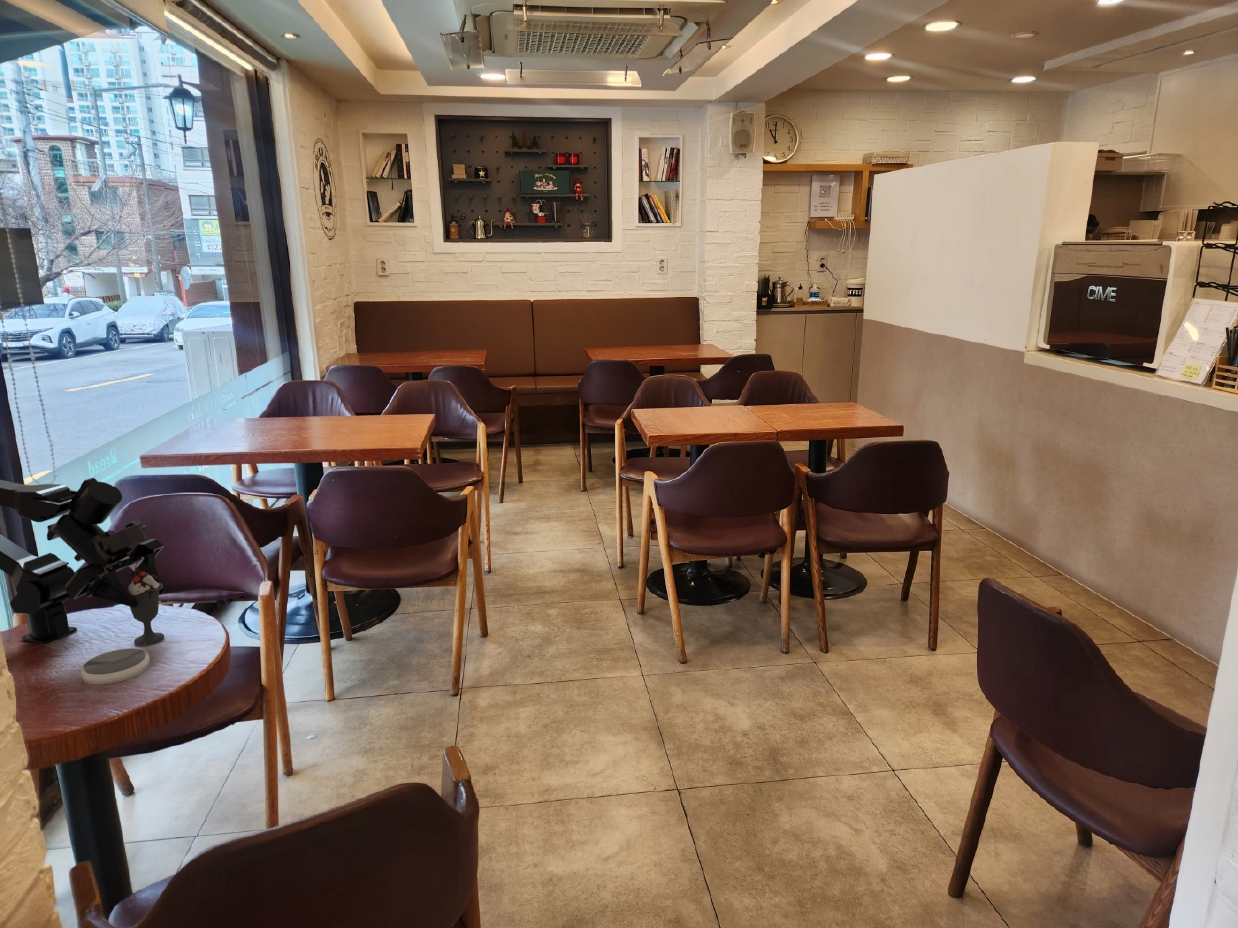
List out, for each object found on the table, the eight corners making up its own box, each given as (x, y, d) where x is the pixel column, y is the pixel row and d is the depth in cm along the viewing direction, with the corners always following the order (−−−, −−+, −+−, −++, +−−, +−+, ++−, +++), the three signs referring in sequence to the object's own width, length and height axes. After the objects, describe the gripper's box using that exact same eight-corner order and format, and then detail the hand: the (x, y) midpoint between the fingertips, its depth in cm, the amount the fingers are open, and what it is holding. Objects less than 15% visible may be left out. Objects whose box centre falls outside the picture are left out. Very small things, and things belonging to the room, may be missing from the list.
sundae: (138, 649, 143) (126, 572, 139) (122, 640, 147) (111, 564, 143) (176, 637, 148) (165, 562, 145) (160, 628, 152) (149, 555, 149)
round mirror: (67, 679, 132) (65, 668, 132) (121, 654, 142) (119, 644, 141) (111, 688, 129) (109, 677, 129) (163, 661, 139) (161, 651, 138)
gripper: (69, 525, 133) (137, 589, 134) (148, 498, 151) (207, 554, 152) (36, 567, 136) (102, 630, 137) (117, 535, 154) (175, 590, 155)
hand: (150, 598), depth 145 cm, fingers closed on sundae, 6 cm apart
